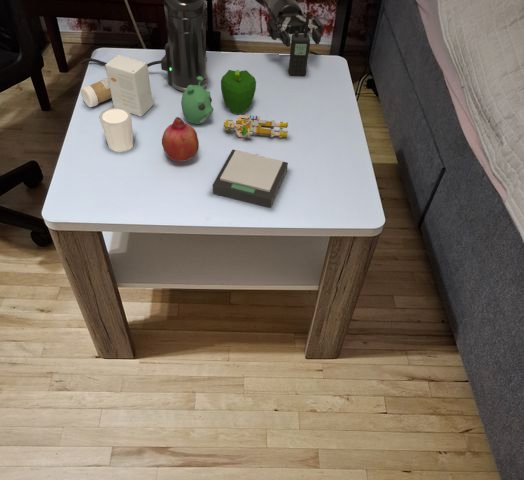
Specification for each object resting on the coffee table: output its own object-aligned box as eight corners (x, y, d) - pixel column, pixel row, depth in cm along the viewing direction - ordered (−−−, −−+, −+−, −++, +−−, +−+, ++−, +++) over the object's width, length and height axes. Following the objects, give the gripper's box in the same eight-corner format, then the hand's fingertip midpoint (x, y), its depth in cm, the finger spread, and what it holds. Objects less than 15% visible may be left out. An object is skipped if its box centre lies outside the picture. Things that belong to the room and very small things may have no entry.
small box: (153, 106, 124) (148, 62, 116) (141, 117, 121) (134, 73, 113) (126, 97, 126) (118, 53, 117) (113, 108, 123) (104, 64, 114)
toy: (287, 138, 117) (223, 132, 115) (284, 145, 122) (222, 139, 120) (289, 115, 116) (224, 108, 115) (286, 123, 122) (224, 116, 120)
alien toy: (204, 134, 119) (202, 93, 111) (177, 124, 121) (173, 83, 112) (219, 120, 123) (218, 79, 114) (192, 110, 124) (190, 69, 116)
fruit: (158, 166, 112) (153, 125, 103) (170, 145, 116) (166, 104, 108) (193, 173, 111) (191, 132, 103) (204, 152, 115) (202, 111, 107)
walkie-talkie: (289, 76, 136) (295, 14, 123) (288, 69, 137) (293, 8, 125) (306, 76, 136) (314, 15, 123) (305, 69, 138) (313, 8, 125)
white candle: (130, 155, 113) (124, 127, 107) (100, 150, 114) (93, 122, 108) (140, 138, 117) (135, 109, 111) (111, 133, 117) (105, 104, 112)
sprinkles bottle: (136, 92, 128) (91, 112, 123) (125, 78, 128) (79, 97, 123) (138, 79, 124) (91, 98, 119) (126, 64, 124) (79, 83, 119)
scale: (212, 193, 108) (212, 182, 105) (232, 158, 115) (232, 146, 112) (270, 208, 106) (271, 197, 104) (286, 171, 113) (288, 160, 111)
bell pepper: (231, 95, 129) (231, 54, 121) (259, 104, 127) (261, 64, 119) (214, 111, 125) (213, 70, 116) (244, 121, 123) (245, 80, 115)
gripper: (260, -3, 132) (278, 27, 124) (311, -6, 135) (332, 23, 126) (258, 28, 138) (275, 59, 130) (307, 24, 141) (327, 54, 133)
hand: (303, 41), depth 128 cm, fingers open, 7 cm apart
